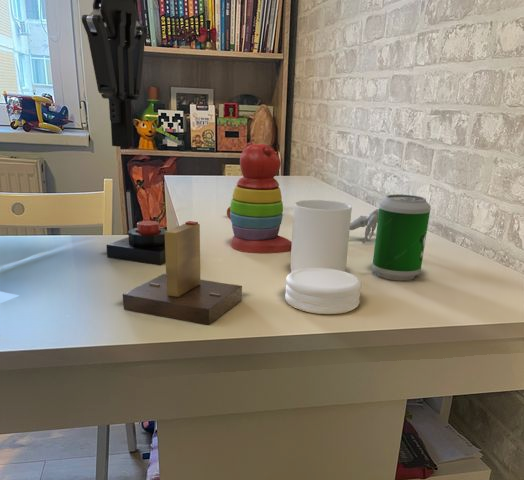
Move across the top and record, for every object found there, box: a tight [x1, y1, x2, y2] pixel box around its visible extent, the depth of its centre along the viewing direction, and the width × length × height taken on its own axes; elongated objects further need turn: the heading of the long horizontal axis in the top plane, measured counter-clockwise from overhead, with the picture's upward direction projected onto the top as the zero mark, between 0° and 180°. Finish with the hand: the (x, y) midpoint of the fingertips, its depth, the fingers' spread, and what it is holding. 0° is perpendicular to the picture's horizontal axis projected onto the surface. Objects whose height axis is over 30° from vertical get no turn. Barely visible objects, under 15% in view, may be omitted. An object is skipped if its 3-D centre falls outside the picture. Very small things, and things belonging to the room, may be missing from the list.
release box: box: [105, 227, 169, 266], centre depth 93 cm, size 10×10×4 cm
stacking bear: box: [229, 141, 292, 254], centre depth 98 cm, size 11×10×18 cm
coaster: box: [284, 268, 362, 315], centre depth 75 cm, size 10×10×4 cm
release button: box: [136, 220, 161, 234], centre depth 92 cm, size 4×4×2 cm
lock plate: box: [122, 273, 243, 326], centre depth 72 cm, size 12×10×2 cm
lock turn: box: [165, 220, 201, 297], centre depth 70 cm, size 6×2×8 cm, turn 158°
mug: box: [290, 199, 353, 273], centre depth 87 cm, size 9×12×11 cm
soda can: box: [371, 193, 432, 281], centre depth 86 cm, size 8×8×12 cm
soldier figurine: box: [350, 208, 379, 244], centre depth 109 cm, size 6×5×12 cm
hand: (122, 146), depth 85 cm, fingers closed
